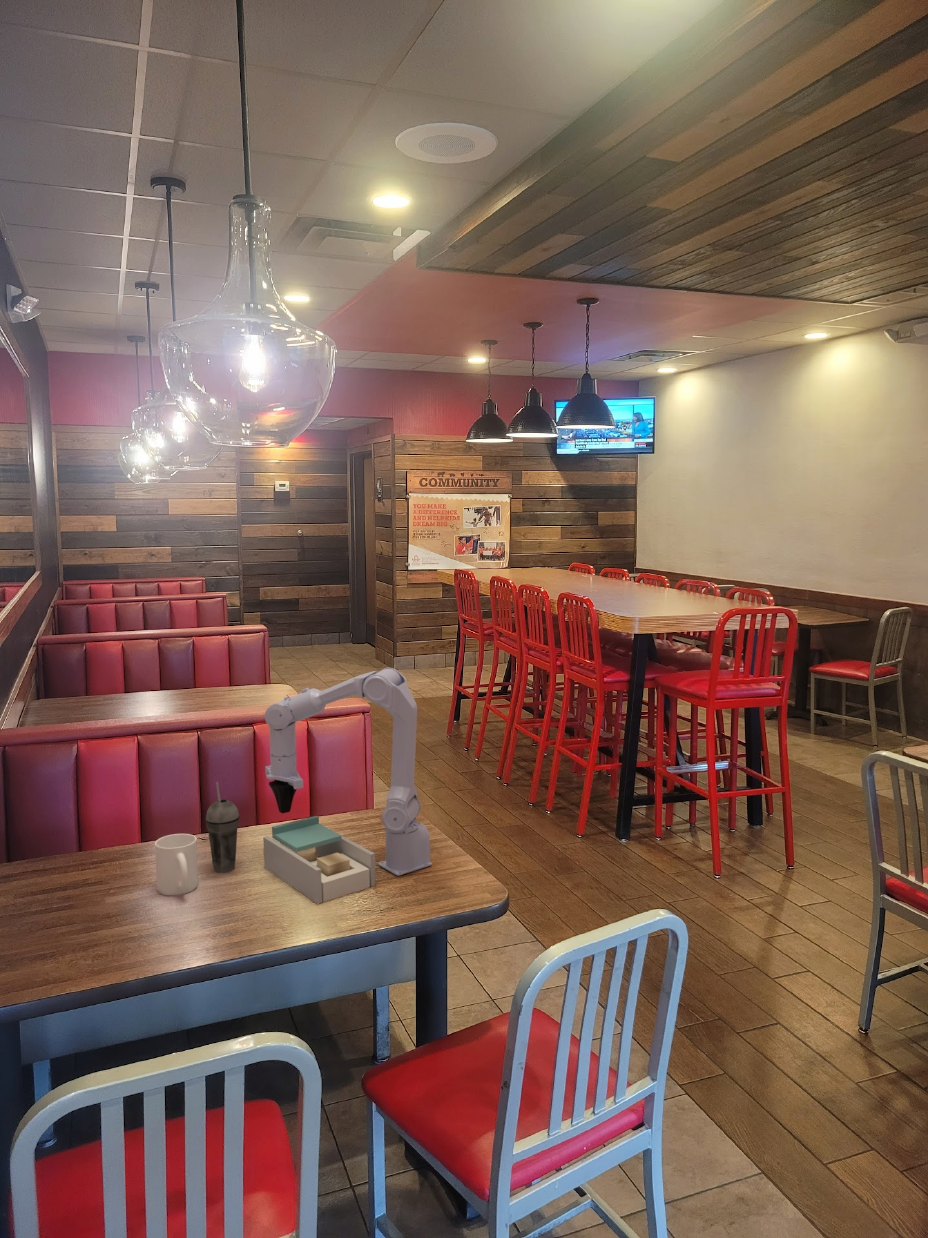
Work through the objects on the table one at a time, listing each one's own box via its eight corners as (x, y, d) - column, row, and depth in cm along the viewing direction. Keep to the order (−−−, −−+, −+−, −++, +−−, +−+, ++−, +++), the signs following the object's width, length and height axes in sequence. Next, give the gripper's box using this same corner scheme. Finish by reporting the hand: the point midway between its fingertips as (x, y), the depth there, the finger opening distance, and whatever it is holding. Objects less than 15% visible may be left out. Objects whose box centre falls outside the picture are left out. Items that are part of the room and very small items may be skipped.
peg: (338, 879, 185) (337, 852, 184) (350, 887, 181) (349, 860, 180) (317, 885, 182) (316, 858, 181) (328, 893, 178) (328, 865, 177)
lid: (316, 826, 197) (316, 815, 197) (341, 840, 189) (341, 829, 188) (272, 837, 190) (271, 826, 190) (296, 852, 182) (296, 841, 181)
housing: (319, 852, 200) (318, 823, 199) (375, 885, 182) (374, 853, 181) (264, 867, 191) (263, 837, 190) (317, 904, 173) (316, 870, 172)
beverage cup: (248, 866, 192) (245, 779, 189) (223, 878, 186) (219, 788, 183) (225, 860, 196) (222, 774, 193) (200, 871, 189) (196, 782, 187)
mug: (206, 898, 176) (204, 849, 175) (164, 907, 172) (162, 857, 171) (193, 877, 186) (191, 831, 185) (153, 885, 182) (151, 838, 181)
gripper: (252, 750, 198) (254, 807, 200) (282, 764, 187) (283, 824, 189) (280, 745, 203) (281, 801, 204) (311, 758, 191) (312, 817, 193)
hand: (284, 812), depth 197 cm, fingers closed
